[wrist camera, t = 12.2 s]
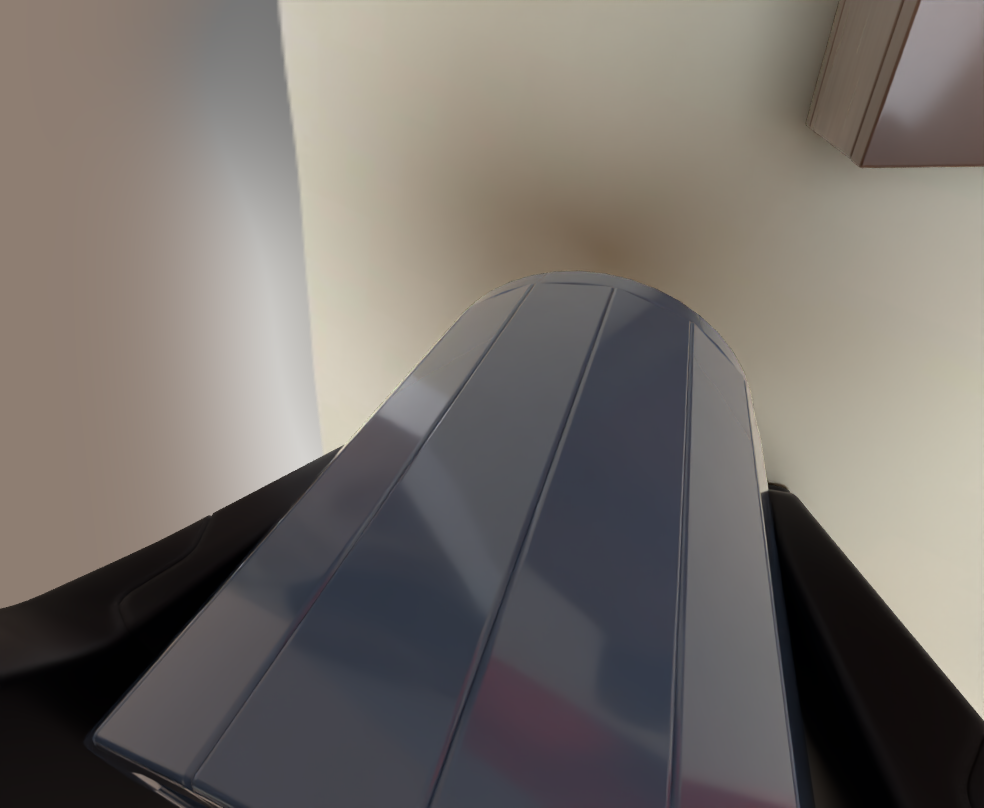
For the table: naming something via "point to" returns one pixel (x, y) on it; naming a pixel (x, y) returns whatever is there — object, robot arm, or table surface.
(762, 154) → the table surface
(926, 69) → the box lid
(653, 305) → the cup
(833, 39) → the box
